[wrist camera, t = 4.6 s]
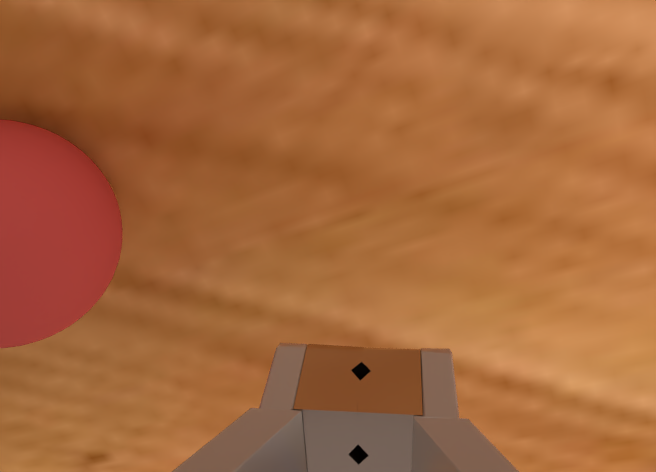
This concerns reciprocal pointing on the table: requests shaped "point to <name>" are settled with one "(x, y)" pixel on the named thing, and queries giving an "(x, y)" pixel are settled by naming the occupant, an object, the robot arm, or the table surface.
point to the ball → (51, 233)
